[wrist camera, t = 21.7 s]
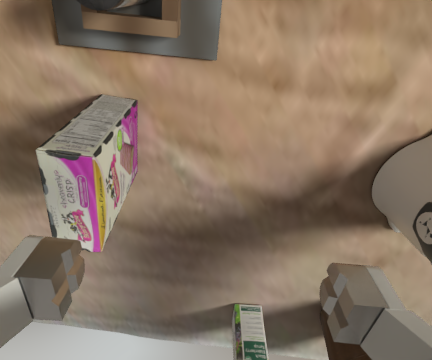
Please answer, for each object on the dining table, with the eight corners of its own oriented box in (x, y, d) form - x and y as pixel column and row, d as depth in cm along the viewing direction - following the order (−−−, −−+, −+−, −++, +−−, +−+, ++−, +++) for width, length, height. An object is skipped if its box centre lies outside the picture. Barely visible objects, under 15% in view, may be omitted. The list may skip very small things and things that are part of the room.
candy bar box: (140, 172, 43) (102, 255, 29) (105, 167, 43) (51, 250, 29) (140, 97, 37) (94, 157, 23) (100, 91, 37) (29, 149, 23)
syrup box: (262, 304, 60) (273, 383, 48) (257, 321, 63) (267, 399, 51) (234, 302, 60) (238, 382, 47) (231, 319, 63) (234, 398, 51)
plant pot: (298, 301, 59) (321, 392, 46) (379, 276, 55) (432, 368, 42) (322, 340, 67) (349, 429, 53) (396, 321, 63) (445, 412, 49)
